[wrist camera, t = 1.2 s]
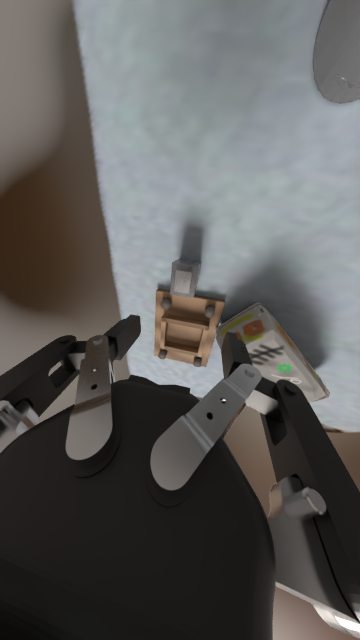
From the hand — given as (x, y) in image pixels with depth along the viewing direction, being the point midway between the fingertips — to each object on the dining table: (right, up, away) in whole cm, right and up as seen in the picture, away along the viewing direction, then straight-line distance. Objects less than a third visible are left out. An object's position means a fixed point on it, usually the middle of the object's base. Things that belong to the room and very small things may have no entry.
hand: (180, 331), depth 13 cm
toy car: (+20, -6, +19) cm, 28 cm away
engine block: (+2, +10, +14) cm, 17 cm away
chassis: (+1, -1, +20) cm, 20 cm away
